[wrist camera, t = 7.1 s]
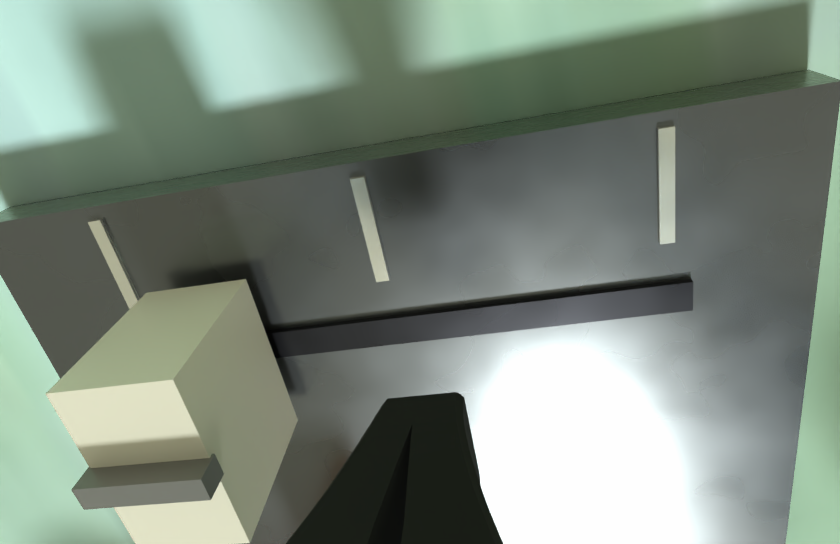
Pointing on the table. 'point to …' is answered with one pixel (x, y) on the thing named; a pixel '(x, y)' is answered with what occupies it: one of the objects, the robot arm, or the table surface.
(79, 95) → the table surface
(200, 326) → the cream fader
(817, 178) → the console
